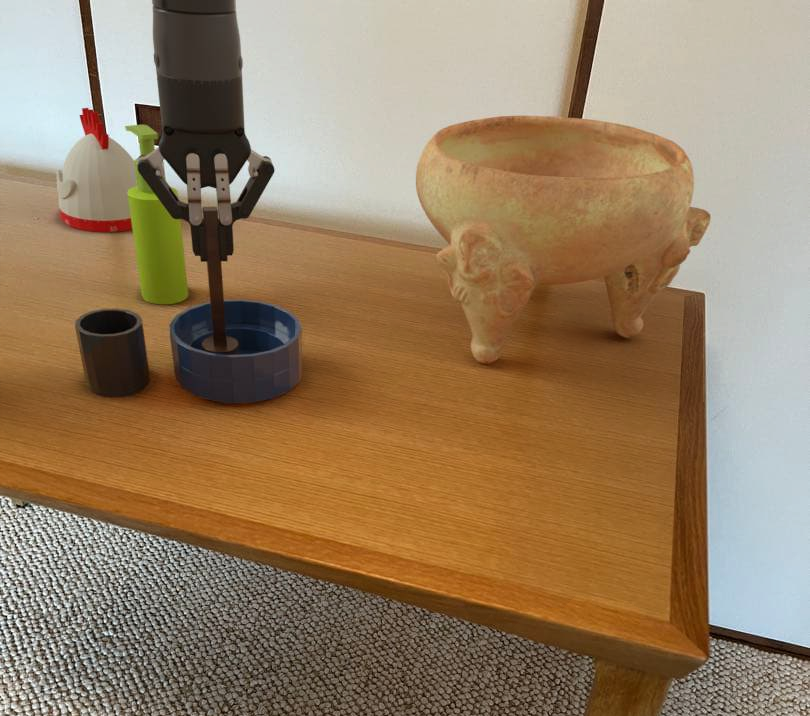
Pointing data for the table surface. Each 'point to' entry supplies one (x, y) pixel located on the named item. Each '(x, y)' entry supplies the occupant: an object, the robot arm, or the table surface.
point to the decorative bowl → (555, 215)
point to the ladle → (216, 290)
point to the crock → (113, 352)
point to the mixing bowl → (258, 352)
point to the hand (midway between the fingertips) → (213, 258)
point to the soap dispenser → (156, 235)
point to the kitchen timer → (96, 181)
